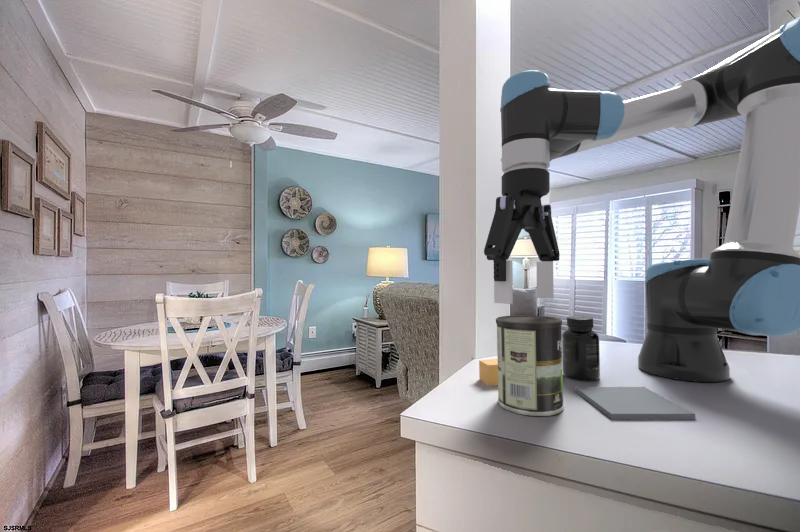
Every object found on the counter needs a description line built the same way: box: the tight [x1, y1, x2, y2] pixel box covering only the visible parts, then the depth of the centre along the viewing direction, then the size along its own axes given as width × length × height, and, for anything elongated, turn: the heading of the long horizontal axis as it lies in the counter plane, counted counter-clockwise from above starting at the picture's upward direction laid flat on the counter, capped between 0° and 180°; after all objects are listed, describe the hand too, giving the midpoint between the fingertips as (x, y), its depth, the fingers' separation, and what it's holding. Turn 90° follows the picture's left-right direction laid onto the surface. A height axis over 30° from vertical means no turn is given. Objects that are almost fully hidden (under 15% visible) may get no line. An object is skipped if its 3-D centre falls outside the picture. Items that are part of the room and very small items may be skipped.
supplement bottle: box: [562, 315, 601, 382], centre depth 74 cm, size 7×7×12 cm
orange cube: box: [478, 358, 498, 387], centre depth 72 cm, size 4×4×4 cm
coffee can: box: [495, 314, 565, 417], centre depth 60 cm, size 10×10×14 cm
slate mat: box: [574, 386, 696, 420], centre depth 59 cm, size 12×12×1 cm
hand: (525, 300), depth 60 cm, fingers open, 13 cm apart
